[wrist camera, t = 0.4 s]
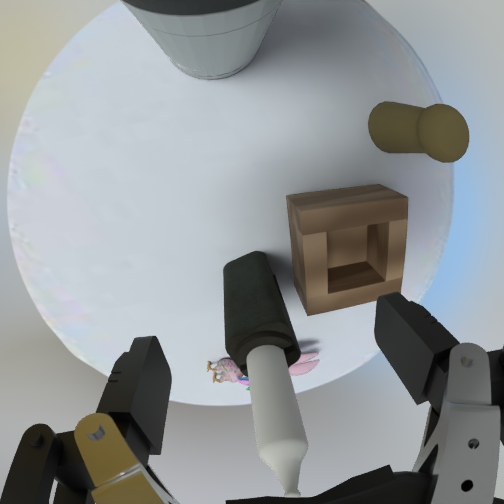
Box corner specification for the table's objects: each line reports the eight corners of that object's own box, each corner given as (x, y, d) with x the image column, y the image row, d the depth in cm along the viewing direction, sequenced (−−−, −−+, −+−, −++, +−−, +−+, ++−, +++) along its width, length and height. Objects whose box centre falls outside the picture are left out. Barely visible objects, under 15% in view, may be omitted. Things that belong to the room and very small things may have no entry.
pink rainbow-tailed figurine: (219, 374, 42) (319, 362, 39) (213, 405, 36) (323, 395, 34) (205, 346, 39) (315, 331, 37) (197, 378, 34) (320, 365, 31)
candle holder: (286, 195, 30) (300, 211, 25) (379, 184, 30) (408, 197, 25) (294, 286, 35) (307, 316, 29) (377, 269, 35) (400, 294, 29)
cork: (383, 162, 29) (446, 183, 19) (358, 115, 27) (420, 116, 17) (419, 138, 28) (485, 152, 18) (397, 93, 26) (463, 89, 16)
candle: (219, 266, 33) (225, 501, 10) (261, 247, 32) (331, 476, 9) (239, 300, 35) (265, 516, 12) (278, 283, 34) (348, 494, 11)
